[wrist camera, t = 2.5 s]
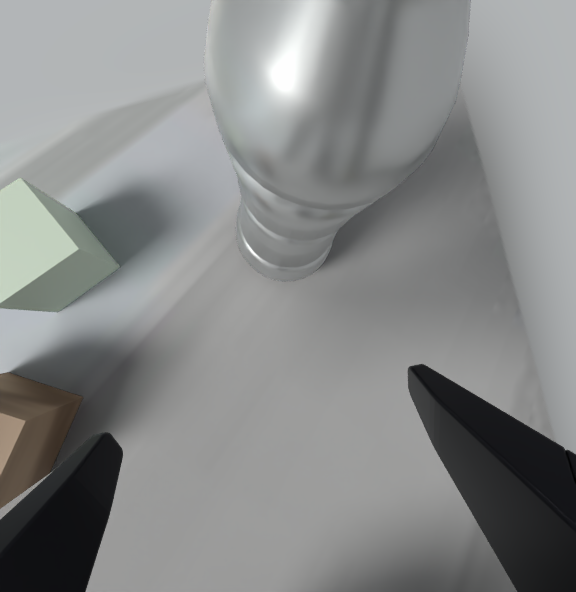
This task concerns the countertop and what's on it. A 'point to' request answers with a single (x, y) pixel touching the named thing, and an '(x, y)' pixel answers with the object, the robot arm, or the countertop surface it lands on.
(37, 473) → the walnut block
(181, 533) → the countertop surface
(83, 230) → the sage block
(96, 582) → the countertop surface
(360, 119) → the plastic bottle
